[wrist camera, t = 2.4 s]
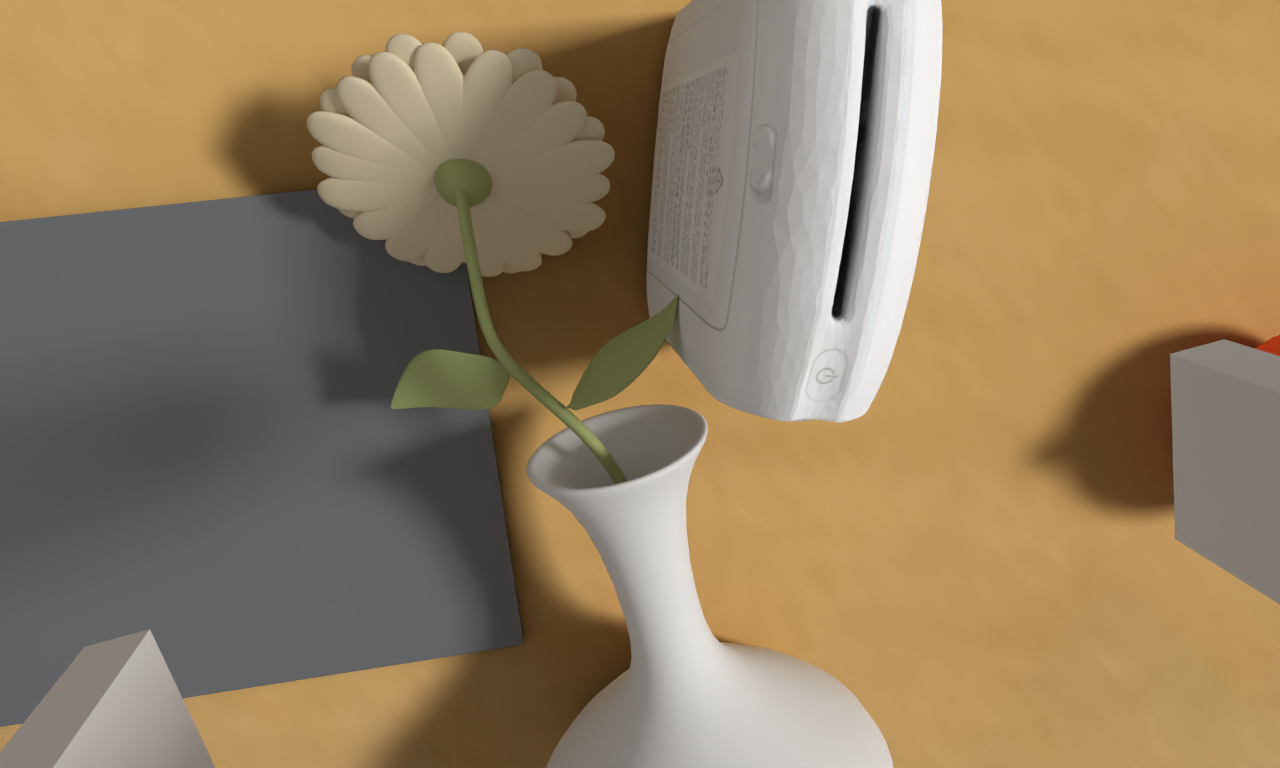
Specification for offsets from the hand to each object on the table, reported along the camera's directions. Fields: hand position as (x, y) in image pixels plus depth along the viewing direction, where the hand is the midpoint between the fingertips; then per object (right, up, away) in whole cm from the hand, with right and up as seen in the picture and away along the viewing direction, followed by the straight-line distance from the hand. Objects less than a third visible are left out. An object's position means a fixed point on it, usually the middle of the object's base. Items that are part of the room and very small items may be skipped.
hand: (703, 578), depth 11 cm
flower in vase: (+1, -12, +18) cm, 21 cm away
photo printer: (+1, +9, +17) cm, 19 cm away
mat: (-16, 0, +17) cm, 23 cm away
